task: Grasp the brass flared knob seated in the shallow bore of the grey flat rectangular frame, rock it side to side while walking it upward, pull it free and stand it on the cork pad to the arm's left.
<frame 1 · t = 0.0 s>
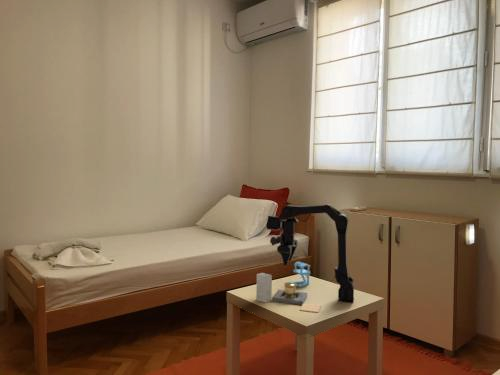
hand: (287, 263, 195), 15 cm above the table, fingers open, 9 cm apart
pad: (310, 308, 176), on the table
brass flared knob: (290, 291, 188), in the grey flat rectangular frame
grey flat rectangular frame: (290, 298, 188), on the table
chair: (301, 284, 210), on the table
skincare box: (263, 300, 185), on the table
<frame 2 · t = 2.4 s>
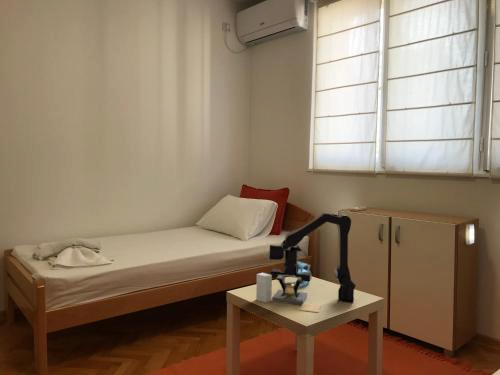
hand: (290, 293, 188), 3 cm above the table, fingers closed on brass flared knob, 5 cm apart
brass flared knob: (290, 291, 188), in the grey flat rectangular frame, touching gripper
everything else where it was.
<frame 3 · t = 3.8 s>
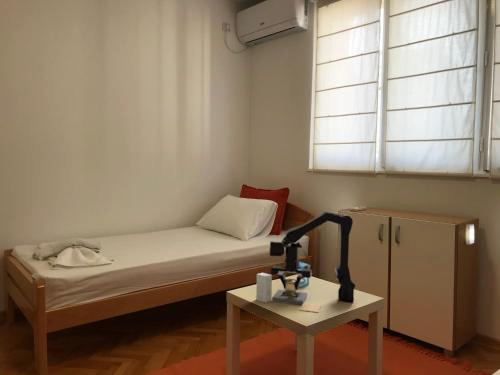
hand: (290, 289, 188), 4 cm above the table, fingers closed on brass flared knob, 5 cm apart
brass flared knob: (290, 287, 188), point 5 cm above the table, touching gripper
everything else where it was.
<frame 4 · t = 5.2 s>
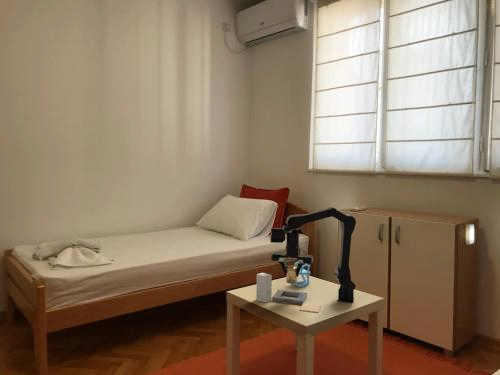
hand: (291, 276, 186), 11 cm above the table, fingers closed on brass flared knob, 5 cm apart
brass flared knob: (291, 274, 186), point 12 cm above the table, touching gripper
everything else where it was.
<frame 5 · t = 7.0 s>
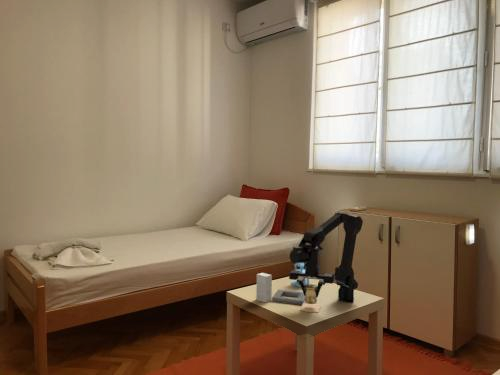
hand: (311, 296, 176), 5 cm above the table, fingers closed on brass flared knob, 5 cm apart
brass flared knob: (311, 294, 175), point 6 cm above the table, touching gripper
everything else where it was.
when the fingers open (3 cm above the table, at t = 8.2 s): brass flared knob stays where it is, resting on pad.
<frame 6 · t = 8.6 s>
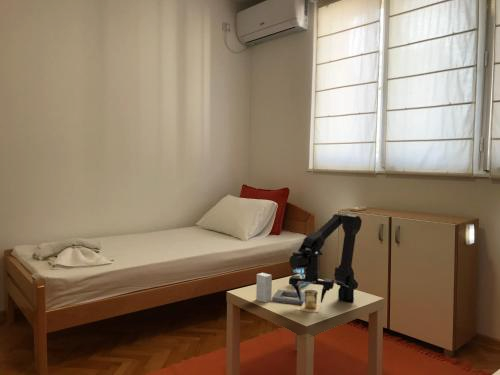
hand: (310, 301, 176), 3 cm above the table, fingers open, 9 cm apart
brass flared knob: (310, 299, 176), on the pad
everything else where it was.
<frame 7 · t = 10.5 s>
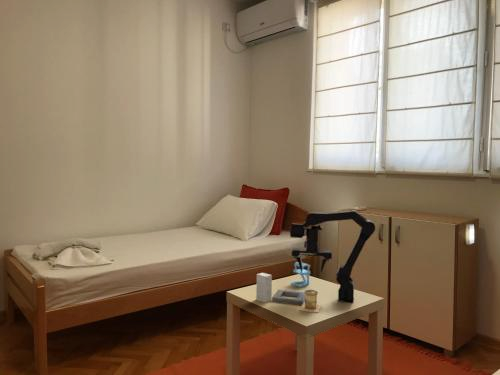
hand: (311, 271, 191), 12 cm above the table, fingers open, 9 cm apart
nothing on the table moved.
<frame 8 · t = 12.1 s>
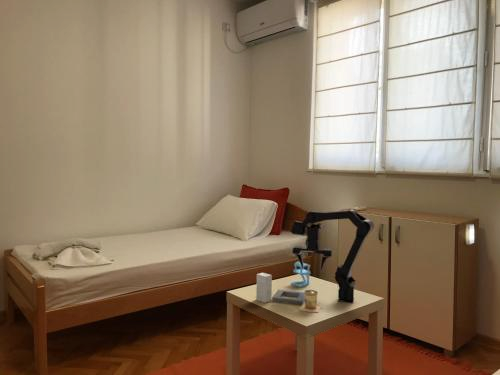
hand: (312, 268, 196), 12 cm above the table, fingers open, 9 cm apart
nothing on the table moved.
at the end: brass flared knob inside the target area on the pad (0.0 cm from its centre), point 3.9 cm above the pad's base; brass flared knob tilted 0°; brass flared knob touching pad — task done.
